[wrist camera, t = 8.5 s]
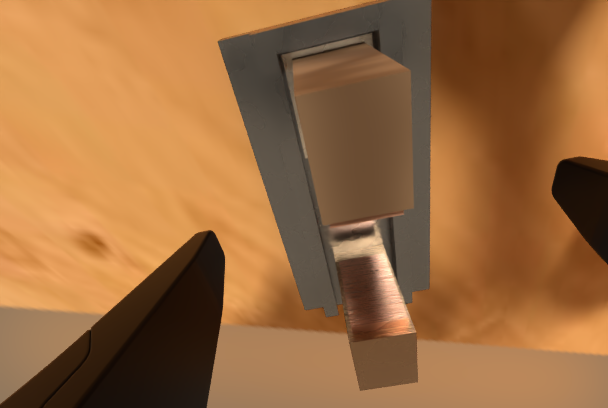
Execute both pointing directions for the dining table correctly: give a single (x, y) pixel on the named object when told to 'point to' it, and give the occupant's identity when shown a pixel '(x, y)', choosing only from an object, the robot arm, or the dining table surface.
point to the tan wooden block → (356, 132)
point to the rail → (301, 193)
